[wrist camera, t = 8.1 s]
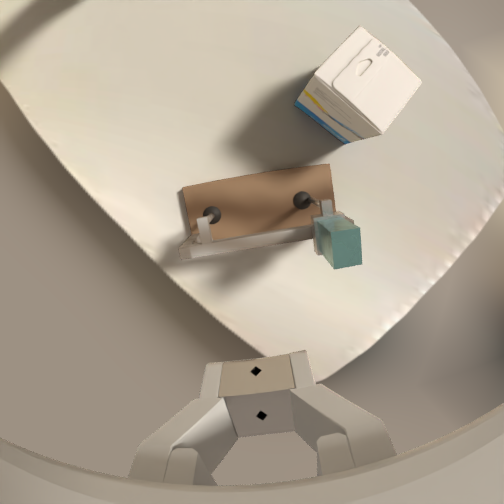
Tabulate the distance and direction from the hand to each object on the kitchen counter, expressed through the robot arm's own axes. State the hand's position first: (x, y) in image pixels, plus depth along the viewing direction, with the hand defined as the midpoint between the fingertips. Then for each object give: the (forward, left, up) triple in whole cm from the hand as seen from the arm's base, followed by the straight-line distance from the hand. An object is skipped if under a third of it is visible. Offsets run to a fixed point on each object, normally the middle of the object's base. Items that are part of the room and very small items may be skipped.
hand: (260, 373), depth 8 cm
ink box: (-13, +13, -29) cm, 35 cm away
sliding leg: (0, +7, -27) cm, 28 cm away
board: (-1, +1, -29) cm, 29 cm away
